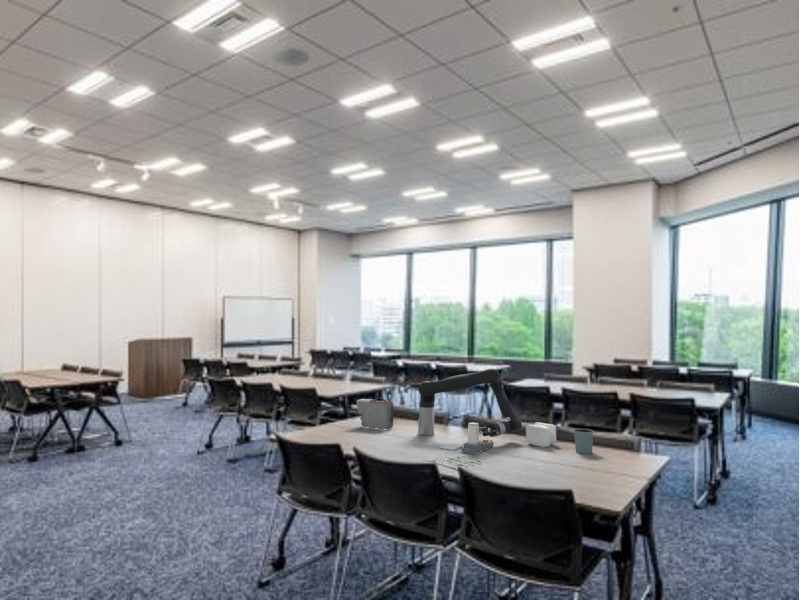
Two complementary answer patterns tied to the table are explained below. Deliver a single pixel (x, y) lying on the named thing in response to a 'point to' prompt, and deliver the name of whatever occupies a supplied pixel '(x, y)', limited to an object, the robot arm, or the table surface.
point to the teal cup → (583, 440)
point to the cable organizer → (541, 434)
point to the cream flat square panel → (463, 458)
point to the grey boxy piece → (376, 413)
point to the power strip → (477, 446)
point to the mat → (450, 447)
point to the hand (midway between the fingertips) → (477, 433)
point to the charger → (473, 433)
